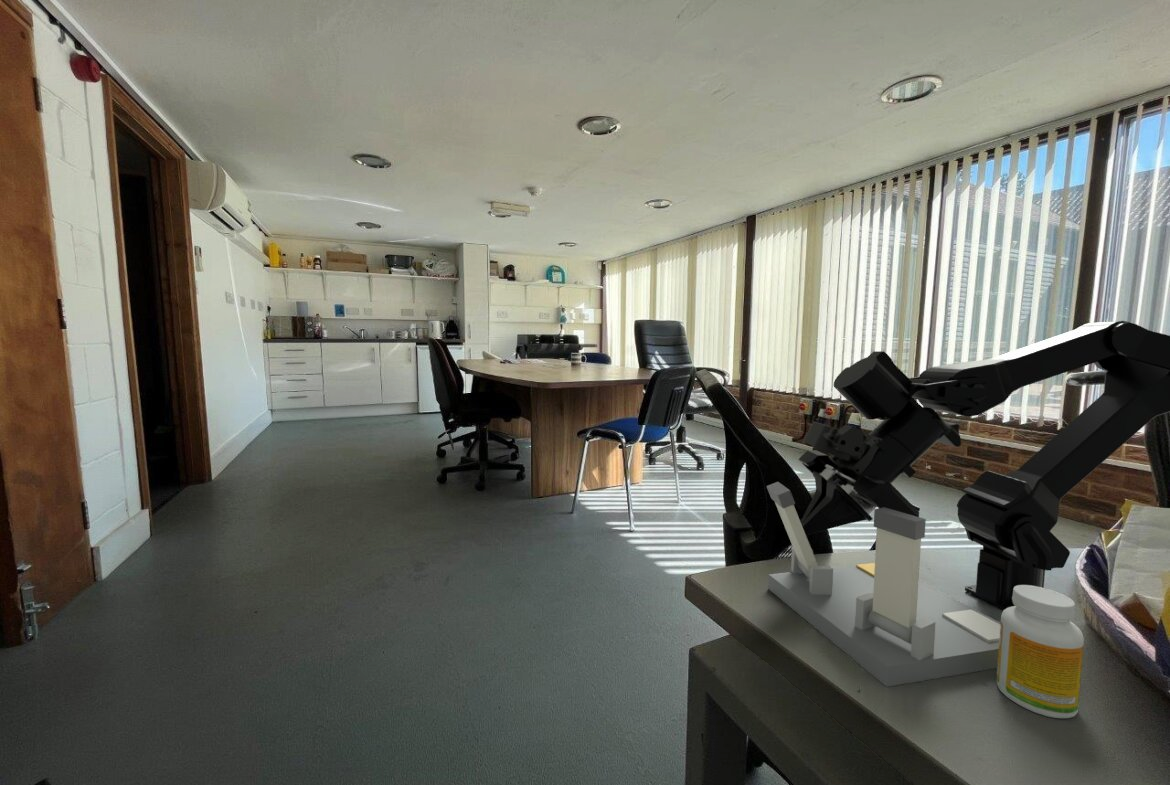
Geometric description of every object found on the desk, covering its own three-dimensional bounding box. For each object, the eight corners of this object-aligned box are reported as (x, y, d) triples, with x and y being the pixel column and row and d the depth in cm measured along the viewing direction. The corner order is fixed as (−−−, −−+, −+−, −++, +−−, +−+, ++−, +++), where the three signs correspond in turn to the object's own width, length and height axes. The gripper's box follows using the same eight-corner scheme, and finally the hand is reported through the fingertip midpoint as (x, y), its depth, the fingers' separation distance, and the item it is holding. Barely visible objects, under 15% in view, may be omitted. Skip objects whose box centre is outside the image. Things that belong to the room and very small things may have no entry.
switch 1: (813, 567, 63) (778, 481, 62) (827, 581, 59) (790, 490, 58) (800, 572, 63) (765, 486, 62) (813, 587, 59) (776, 495, 58)
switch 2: (878, 621, 51) (884, 507, 50) (918, 641, 47) (926, 519, 46) (868, 625, 50) (873, 509, 49) (908, 646, 46) (915, 521, 45)
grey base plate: (881, 574, 67) (882, 538, 67) (1036, 661, 48) (1040, 611, 48) (766, 587, 63) (767, 549, 63) (886, 686, 44) (889, 633, 44)
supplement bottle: (1096, 725, 40) (1106, 614, 39) (1021, 715, 41) (1030, 607, 40) (1047, 682, 45) (1055, 583, 44) (982, 674, 46) (989, 578, 45)
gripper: (814, 394, 68) (735, 470, 69) (894, 409, 49) (784, 512, 51) (868, 448, 68) (789, 522, 70) (968, 483, 50) (857, 584, 51)
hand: (801, 531), depth 60 cm, fingers closed, pressing on switch 1
